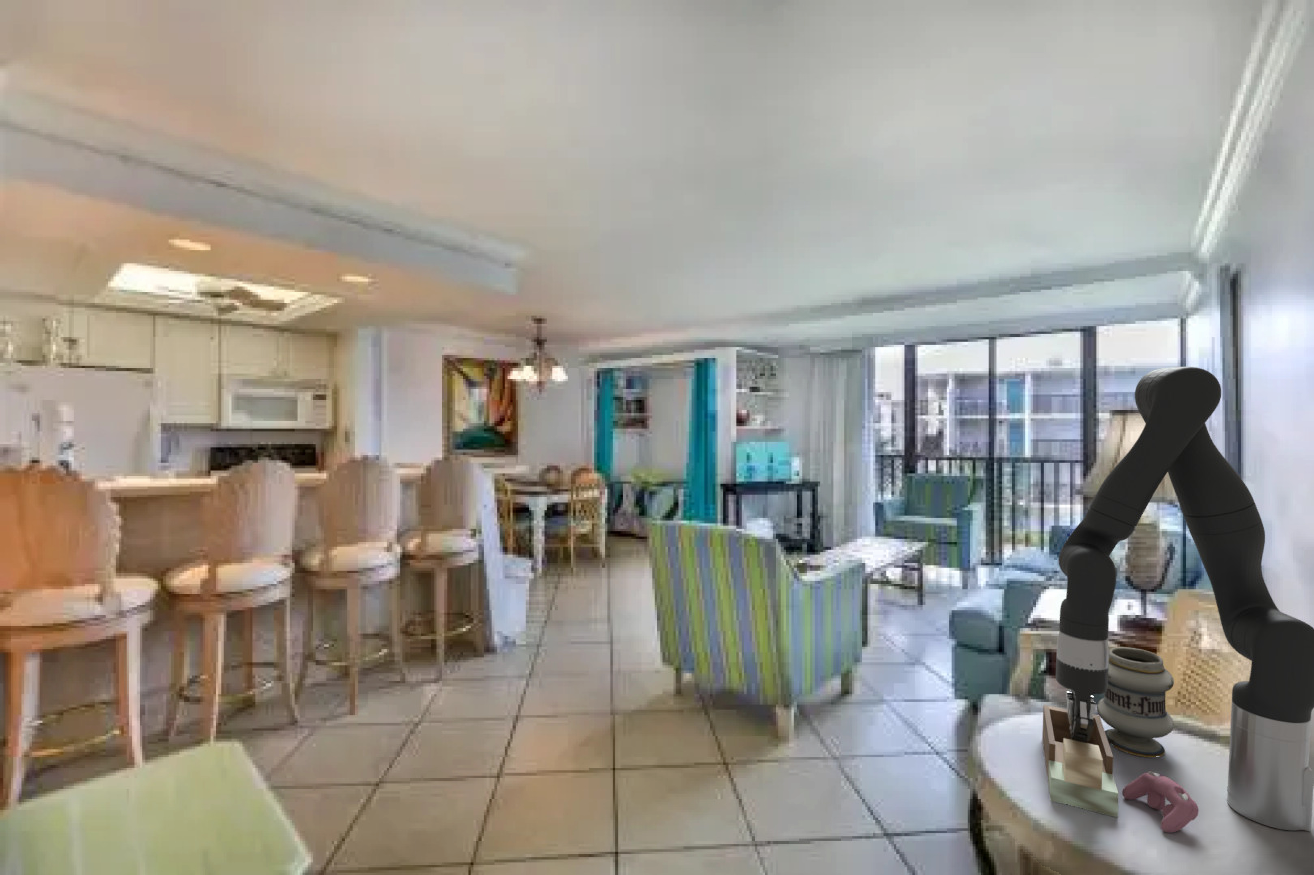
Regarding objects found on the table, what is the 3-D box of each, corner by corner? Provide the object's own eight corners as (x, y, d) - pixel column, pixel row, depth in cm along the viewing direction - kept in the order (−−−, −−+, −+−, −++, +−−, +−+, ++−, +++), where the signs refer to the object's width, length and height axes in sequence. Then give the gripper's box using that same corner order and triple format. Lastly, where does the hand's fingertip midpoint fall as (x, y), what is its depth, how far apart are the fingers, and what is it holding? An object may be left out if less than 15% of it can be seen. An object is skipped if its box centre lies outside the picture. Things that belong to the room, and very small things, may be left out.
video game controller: (1188, 845, 98) (1210, 806, 98) (1162, 832, 98) (1184, 792, 98) (1140, 805, 108) (1160, 769, 108) (1116, 793, 108) (1137, 757, 108)
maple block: (1097, 774, 107) (1098, 745, 107) (1101, 790, 103) (1102, 760, 103) (1062, 766, 110) (1063, 738, 109) (1065, 781, 105) (1066, 752, 105)
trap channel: (1098, 751, 122) (1099, 715, 122) (1117, 817, 102) (1119, 775, 102) (1042, 739, 126) (1043, 704, 126) (1050, 800, 107) (1051, 760, 106)
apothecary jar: (1080, 731, 130) (1084, 644, 129) (1130, 726, 132) (1134, 641, 131) (1135, 764, 118) (1139, 668, 117) (1189, 757, 120) (1193, 664, 119)
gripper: (1114, 678, 102) (1110, 782, 103) (1103, 650, 114) (1099, 744, 115) (1059, 668, 106) (1055, 769, 107) (1053, 642, 117) (1050, 733, 118)
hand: (1078, 756), depth 111 cm, fingers closed
